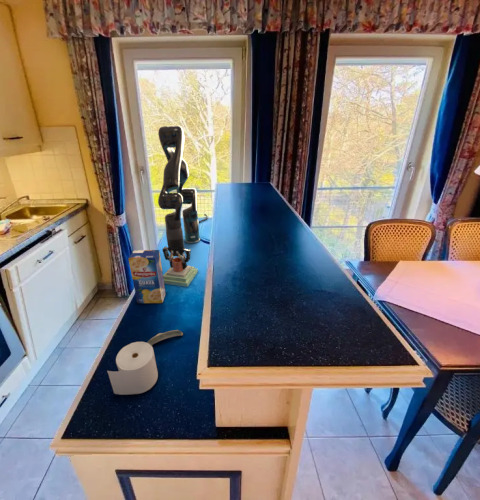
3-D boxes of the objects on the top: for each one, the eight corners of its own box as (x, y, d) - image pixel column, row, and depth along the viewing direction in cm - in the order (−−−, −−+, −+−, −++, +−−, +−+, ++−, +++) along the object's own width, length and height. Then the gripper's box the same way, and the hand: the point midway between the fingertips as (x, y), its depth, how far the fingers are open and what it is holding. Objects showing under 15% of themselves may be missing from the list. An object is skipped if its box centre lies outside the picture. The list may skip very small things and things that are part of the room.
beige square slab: (174, 266, 142) (174, 263, 141) (191, 268, 139) (190, 265, 138) (166, 275, 134) (166, 272, 133) (184, 277, 131) (183, 275, 131)
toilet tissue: (163, 368, 89) (159, 344, 84) (145, 402, 78) (139, 377, 74) (134, 362, 91) (128, 338, 87) (112, 394, 81) (105, 370, 77)
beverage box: (141, 293, 126) (133, 250, 116) (165, 293, 126) (159, 249, 116) (137, 303, 120) (127, 258, 110) (162, 303, 120) (155, 257, 110)
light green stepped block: (172, 268, 146) (172, 262, 144) (197, 271, 142) (197, 265, 140) (160, 283, 134) (159, 276, 132) (187, 286, 130) (186, 280, 128)
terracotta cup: (175, 265, 139) (174, 256, 137) (186, 266, 137) (185, 257, 135) (171, 271, 134) (169, 261, 132) (181, 272, 133) (180, 263, 130)
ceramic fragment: (145, 349, 96) (143, 341, 94) (142, 339, 100) (141, 331, 99) (184, 337, 101) (183, 329, 99) (180, 328, 105) (179, 320, 103)
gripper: (192, 234, 129) (195, 265, 137) (164, 231, 133) (168, 262, 141) (186, 240, 123) (189, 273, 130) (156, 238, 127) (161, 270, 134)
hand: (178, 267), depth 135 cm, fingers closed on terracotta cup, 5 cm apart
